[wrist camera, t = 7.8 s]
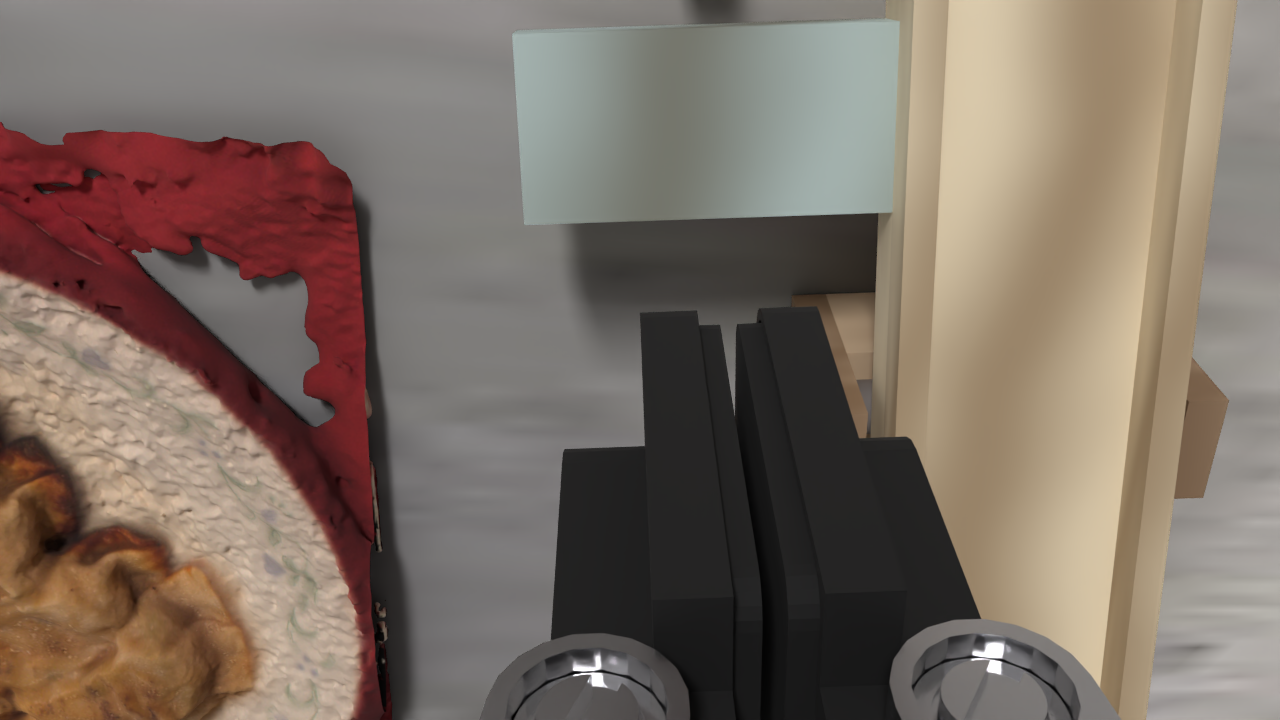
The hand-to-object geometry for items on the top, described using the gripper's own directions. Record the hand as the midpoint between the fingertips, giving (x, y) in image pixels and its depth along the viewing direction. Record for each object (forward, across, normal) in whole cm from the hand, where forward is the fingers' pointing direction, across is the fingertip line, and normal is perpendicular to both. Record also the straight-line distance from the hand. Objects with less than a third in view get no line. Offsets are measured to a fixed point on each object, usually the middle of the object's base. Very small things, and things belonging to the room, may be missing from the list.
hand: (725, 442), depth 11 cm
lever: (+11, -3, +8) cm, 14 cm away
